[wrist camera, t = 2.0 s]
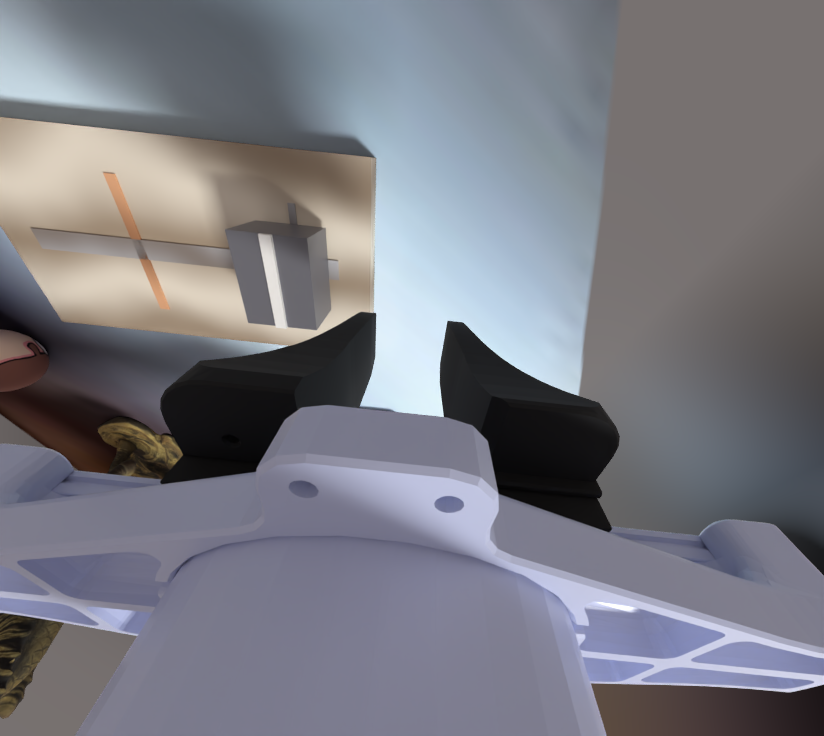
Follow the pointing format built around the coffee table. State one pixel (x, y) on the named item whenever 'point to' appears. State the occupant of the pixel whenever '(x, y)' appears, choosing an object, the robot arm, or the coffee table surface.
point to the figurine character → (20, 360)
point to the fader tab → (282, 273)
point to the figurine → (31, 637)
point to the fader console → (175, 224)
